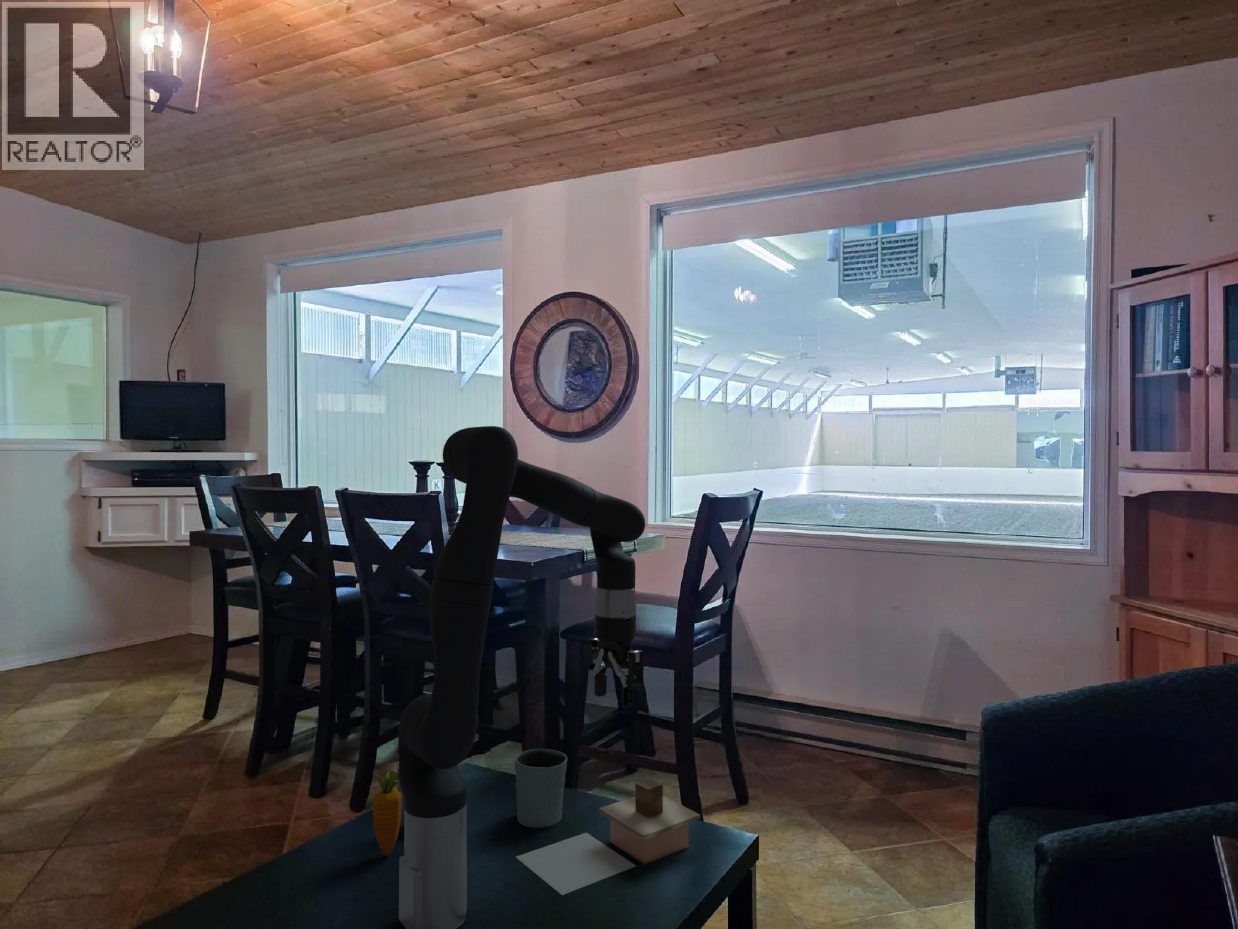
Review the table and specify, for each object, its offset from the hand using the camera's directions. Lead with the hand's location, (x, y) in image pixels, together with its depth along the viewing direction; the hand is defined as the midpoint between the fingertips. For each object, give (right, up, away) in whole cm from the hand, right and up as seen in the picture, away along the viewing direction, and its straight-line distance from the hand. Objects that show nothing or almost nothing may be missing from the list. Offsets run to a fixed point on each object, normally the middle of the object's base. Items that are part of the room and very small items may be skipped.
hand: (613, 701), depth 140 cm
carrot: (-40, -26, -5) cm, 48 cm away
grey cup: (-14, -26, +9) cm, 31 cm away
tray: (-7, -26, -7) cm, 28 cm away
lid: (+6, -20, -1) cm, 21 cm away
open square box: (+6, -26, -1) cm, 27 cm away
